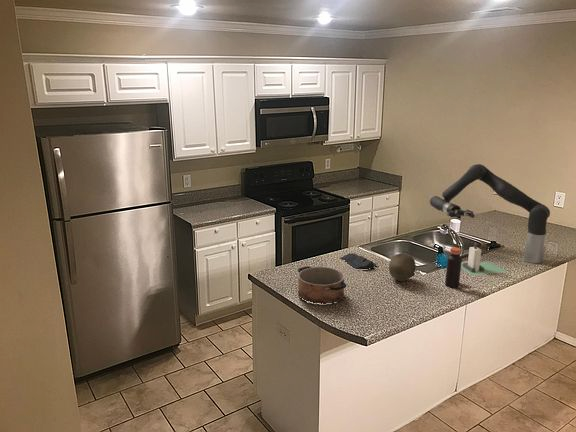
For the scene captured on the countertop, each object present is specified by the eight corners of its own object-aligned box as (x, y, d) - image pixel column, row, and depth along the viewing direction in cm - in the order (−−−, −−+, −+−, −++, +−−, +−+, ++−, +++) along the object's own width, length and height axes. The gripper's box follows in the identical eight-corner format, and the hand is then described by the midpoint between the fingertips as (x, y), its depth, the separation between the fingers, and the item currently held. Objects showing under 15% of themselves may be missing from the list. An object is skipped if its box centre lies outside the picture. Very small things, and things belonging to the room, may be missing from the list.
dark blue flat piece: (356, 256, 277) (356, 248, 276) (379, 268, 259) (380, 260, 258) (335, 260, 270) (335, 253, 269) (358, 273, 252) (358, 265, 251)
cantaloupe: (382, 277, 245) (383, 251, 240) (404, 274, 249) (406, 248, 245) (397, 288, 232) (399, 260, 228) (420, 284, 237) (422, 257, 233)
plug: (473, 266, 256) (476, 241, 252) (480, 270, 250) (483, 245, 246) (467, 267, 255) (470, 242, 251) (473, 271, 249) (476, 245, 245)
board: (489, 263, 264) (489, 261, 264) (507, 273, 249) (508, 271, 249) (455, 266, 260) (455, 264, 259) (471, 277, 245) (472, 275, 244)
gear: (438, 268, 253) (435, 252, 257) (433, 272, 258) (431, 256, 263) (457, 270, 254) (453, 253, 259) (451, 274, 259) (448, 258, 264)
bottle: (457, 289, 230) (461, 252, 225) (443, 286, 234) (447, 249, 228) (460, 284, 236) (464, 248, 230) (446, 281, 239) (450, 245, 234)
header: (472, 264, 260) (472, 260, 259) (484, 271, 250) (484, 267, 249) (460, 265, 258) (460, 261, 258) (471, 272, 248) (472, 268, 248)
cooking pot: (358, 300, 219) (359, 279, 216) (323, 313, 206) (324, 292, 203) (318, 280, 242) (318, 261, 239) (284, 291, 229) (284, 271, 227)
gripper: (441, 204, 277) (456, 211, 262) (462, 203, 280) (478, 209, 265) (440, 216, 279) (455, 223, 264) (461, 214, 282) (477, 222, 267)
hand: (467, 216), depth 264 cm, fingers open, 8 cm apart
